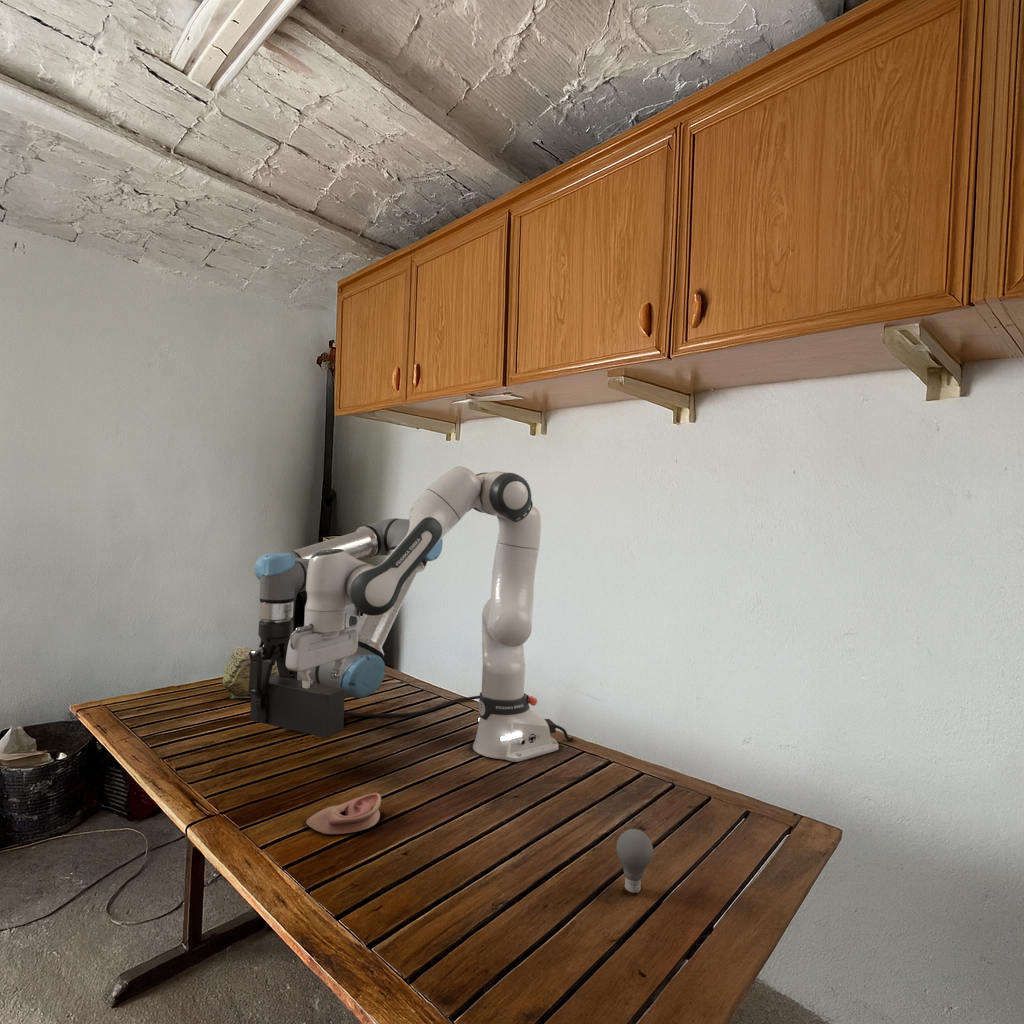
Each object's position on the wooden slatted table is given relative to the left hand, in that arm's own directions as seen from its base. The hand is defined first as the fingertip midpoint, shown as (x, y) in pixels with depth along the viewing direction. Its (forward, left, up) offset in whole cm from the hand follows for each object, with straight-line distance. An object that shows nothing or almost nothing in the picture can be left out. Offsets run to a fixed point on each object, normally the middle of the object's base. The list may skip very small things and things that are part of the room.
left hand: (272, 717), depth 149 cm
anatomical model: (+4, +34, -11) cm, 36 cm away
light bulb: (-14, +87, -11) cm, 89 cm away
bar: (-2, +7, -1) cm, 7 cm away
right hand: (-4, +14, +11) cm, 18 cm away
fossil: (-23, -49, -11) cm, 56 cm away
